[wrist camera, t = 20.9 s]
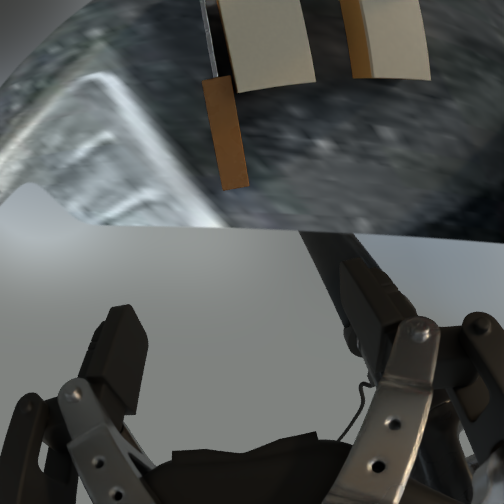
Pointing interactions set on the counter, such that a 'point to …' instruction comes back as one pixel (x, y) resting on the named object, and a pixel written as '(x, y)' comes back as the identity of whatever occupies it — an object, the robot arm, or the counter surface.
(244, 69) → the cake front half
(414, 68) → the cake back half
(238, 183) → the knife
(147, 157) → the counter surface
